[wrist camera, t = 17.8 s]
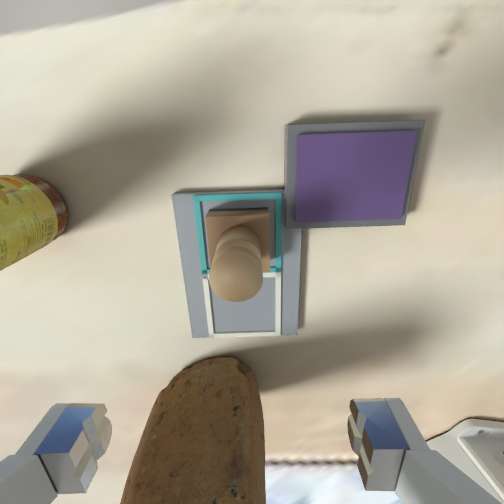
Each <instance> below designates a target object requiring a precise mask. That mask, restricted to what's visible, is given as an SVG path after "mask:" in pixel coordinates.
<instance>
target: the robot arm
mask: <svg viewBox="0 0 504 504" xmlns="http://www.w3.org/2000/svg"><path fill="white" fill-rule="evenodd" d="M350 410H351V413H352V414H351V415H350V416H349V417H348V435H349V439H350V443H351V447H352V450H353V451H354V452H355V453H356V454H357V455H358V456H359V459H358V465H357V466H358V469H359V472H360V475H361V478H362V481H363V484H364V487H365V490H368V491H395V494H396V495H397V496H398V497H399V498H400V500H401V501H402V502H403V503H404V504H504V422H497V421H488V420H479V419H467V420H465V421H463V422H461V423H459V424H458V425H457V426H455V427H454V428H453V429H451V430H450V431H449V432H447V433H445V434H443V435H441V436H438V437H436V438H434V439H431V440H429V441H427V442H426V441H425V439H424V438H423V436H422V434H421V433H420V431H419V429H418V427H417V426H416V424H415V422H414V420H413V419H412V417H411V415H410V413H409V412H408V410H407V408H406V406H405V405H404V403H403V401H402V400H401V399H400V398H384V399H382V398H371V399H352V400H351V402H350ZM106 412H107V410H106V407H105V404H87V403H57V404H55V405H54V406H52V407H51V408H50V409H49V411H48V412H47V413H46V415H45V416H44V417H43V419H42V420H41V421H40V422H39V424H38V425H37V426H36V428H35V429H34V430H33V432H32V433H31V434H30V436H29V437H28V438H27V439H26V441H25V442H24V443H23V445H22V446H21V447H20V449H19V450H18V451H17V452H16V454H15V455H9V456H8V457H6V458H5V459H4V460H2V461H1V462H0V504H50V503H51V502H52V501H53V500H54V499H55V498H56V497H57V494H74V493H86V492H87V489H88V487H89V485H90V483H91V481H92V479H93V477H94V475H95V473H96V471H97V469H98V467H97V460H98V459H99V458H100V457H101V456H102V455H103V454H105V452H106V450H107V448H108V445H109V443H110V439H111V434H112V425H111V422H110V420H109V419H108V418H106V417H105V414H106Z"/></svg>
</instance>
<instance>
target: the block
mask: <svg viewBox="0 0 504 504" xmlns="http://www.w3.org/2000/svg"><path fill="white" fill-rule="evenodd" d="M120 504H266V494H265V441H264V420H263V411H262V405H261V400H260V395H259V391H258V387H257V384H256V381H255V377H254V375H253V373H252V371H251V370H250V369H249V368H248V367H247V366H244V365H243V364H242V363H241V362H239V361H238V360H237V359H235V358H232V357H218V358H212V359H207V360H204V361H202V362H200V363H198V364H196V365H194V366H193V367H192V368H187V369H185V370H183V371H181V372H179V373H178V374H177V375H176V376H175V377H174V378H173V379H172V380H171V381H170V383H169V384H168V386H167V387H166V388H165V389H163V390H162V391H161V392H160V393H159V395H158V397H157V399H156V401H155V403H154V406H153V408H152V411H151V413H150V416H149V418H148V421H147V423H146V426H145V429H144V431H143V434H142V437H141V440H140V443H139V446H138V448H137V451H136V454H135V456H134V459H133V462H132V465H131V468H130V471H129V475H128V478H127V481H126V484H125V488H124V491H123V495H122V499H121V503H120Z"/></svg>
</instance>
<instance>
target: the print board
mask: <svg viewBox="0 0 504 504" xmlns="http://www.w3.org/2000/svg"><path fill="white" fill-rule="evenodd" d="M172 200H173V207H174V214H175V221H176V228H177V235H178V241H179V248H180V255H181V262H182V269H183V276H184V283H185V290H186V297H187V303H188V310H189V317H190V324H191V331H192V338H206V337H209V338H223V337H257V336H280V335H298V309H299V284H300V258H301V233H302V228H299V229H286V227H285V190H284V189H275V190H245V191H216V192H186V193H173V194H172ZM260 207H268V210H269V214H270V272H263V283H262V287H261V289H260V290H259V292H258V293H257V294H256V295H255V296H254V297H252V298H251V299H249V300H246V301H242V302H230V301H227V300H224V299H222V298H220V297H219V296H218V295H216V294H215V292H214V291H213V290H212V288H211V286H210V283H209V272H210V268H211V267H210V257H209V248H208V238H207V228H206V219H205V217H206V215H207V213H208V211H209V209H232V208H260Z"/></svg>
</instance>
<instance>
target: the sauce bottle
mask: <svg viewBox="0 0 504 504" xmlns="http://www.w3.org/2000/svg"><path fill="white" fill-rule="evenodd" d="M67 213H68V212H67V208H66V206H65V203H64V201H63V200H62V198H61V196H60V195H59V193H58V192H57V191H56V190H55V189H54V188H53V187H52V186H51V185H50V184H48V183H46V182H45V181H43V180H41V179H39V178H36V177H33V176H26V175H13V176H12V175H0V271H1V270H3V269H4V268H6V267H8V266H10V265H12V264H14V263H15V262H17V261H19V260H21V259H23V258H25V257H26V256H28V255H30V254H32V253H34V252H35V251H37V250H39V249H41V248H43V247H44V246H46V245H48V244H49V243H50V242H51V241H53V240H55V239H56V238H57V237H59V236H60V235H61V234H62V232H63V231H64V229H65V227H66V224H67V221H68V214H67Z"/></svg>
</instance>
